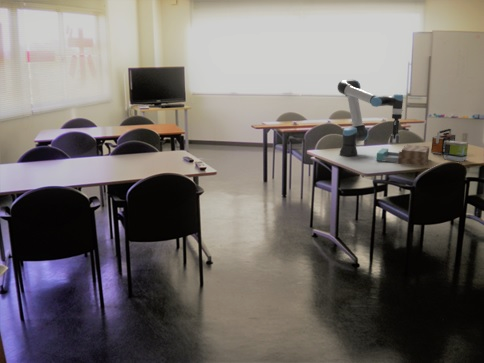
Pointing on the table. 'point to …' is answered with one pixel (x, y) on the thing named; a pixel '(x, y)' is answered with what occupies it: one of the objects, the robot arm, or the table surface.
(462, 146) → the tea box
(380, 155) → the drawer
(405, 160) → the wooden drawer cabinet
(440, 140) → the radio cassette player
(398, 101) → the robot arm
